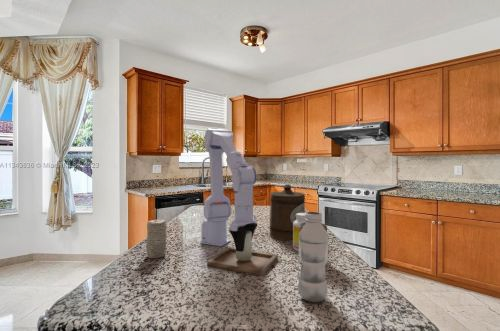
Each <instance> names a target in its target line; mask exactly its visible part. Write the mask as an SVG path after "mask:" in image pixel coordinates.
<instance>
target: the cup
mask: <svg viewBox="0 0 500 331" xmlns="http://www.w3.org/2000/svg"><path fill="white" fill-rule="evenodd" d="M252 244H253V238H252V232H251V231H248V232H247V234H246V238H245V244H244V250H243V252H240V251H236V259H237V260H241V261H246V260H250V259H251V258H252V251H253V250H252V249H253V248H252V247H253V246H252Z"/></svg>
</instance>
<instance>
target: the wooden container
mask: <svg viewBox="0 0 500 331" xmlns="http://www.w3.org/2000/svg"><path fill="white" fill-rule="evenodd" d="M282 188H283V190H282V191H273V192H271V193H270V196H269V197H270V199H269V200H270V203H269V205H270V209H269V236H270V237H271V238H273V239H275V240H279V241H280V240H281V241H290V240H291V241H293V222H294V221H295V220H296V219H297V218H296V214H297V213H306V210H305V207H306V206H305V204H306V203H305V201H306V200H305V199H306V194H305V193H304V192H297V191H293V190H292V185H290V184H284V185H283V187H282Z"/></svg>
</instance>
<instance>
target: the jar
mask: <svg viewBox="0 0 500 331" xmlns="http://www.w3.org/2000/svg"><path fill="white" fill-rule="evenodd" d="M305 224H306V222H305V223H302V224H301V225H300V231H301V229H302V228H303V227H304V225H305ZM321 224H322V226H323V227H324V228H325V230H326V232H327V234H328V235H329V233H328V225H326V224H324V223H322V222H321ZM299 234H300V233H299ZM328 252H329V243H328V244H327V250H326V259H325V266H326V265H327V264H328V263H329V253H328ZM301 259H302V258H301V247H300V239H299V251H298V263H300V264H301Z"/></svg>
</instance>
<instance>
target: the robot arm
mask: <svg viewBox="0 0 500 331" xmlns="http://www.w3.org/2000/svg"><path fill="white" fill-rule="evenodd" d="M204 133H205V134H204V148H205V152H207V153H208V156H209V171H210V172H209V174H210V176H209V177H210V179H209V180H210V195H209V196H208V197H206V198H205V200H204V203H203V216H204V218H205V219H204V220H203V221H202V223H201V227H200V228H201V241H200V244H203V245H210V246H211V245H212V246H214V247H215V246H216V247H222V246H225V245H226V244H228V243H230V242H231V241H232V240H231V239H230V238H228V236H227V235H228V232H227V230H228V231H229V233H230V235H231V237H232V239H233V242H234V248H236V251H240V252H243V250H244V244H245V238H246V234H247V232H248V231H251V232H252V239H253V237H254V234H255V231H256V229H257V227H258V223H257V218H256V215H255V214H253V213H254V185H255V184H256V182H257V178H258V176H257V170H256V169H255V166H251V165H249V164H248V162H247V161H246V158H245V157H244V156H243V153H241V152H240V151H237V149H236V146H235V143H234V132H233V131H232V130H231V129H216V128H210V127H209V128H207V129H206V131H205V132H204ZM224 153H225V155H226V160H225V161H226V163H227V165H228V167H229V169H230V172H231V183H232V189H233V191H234V219H233V220H232V222H231V223H230V224H229V228H228V224H227V223H228V222H227V221H229V218H230V217H231V215H232V212H233V211H232V210H233V209H232V205H231V200H230V198H229V197H228V196H226V195H225V194H224V174H223V154H224Z"/></svg>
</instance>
